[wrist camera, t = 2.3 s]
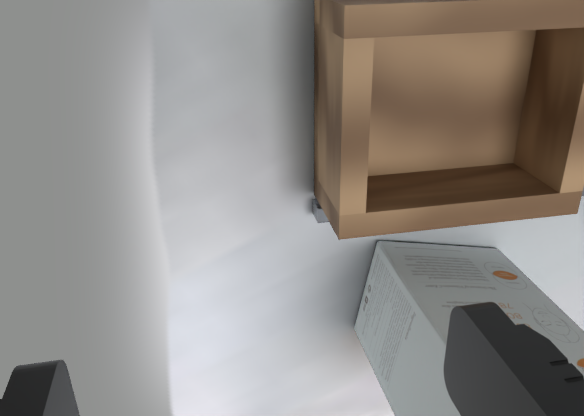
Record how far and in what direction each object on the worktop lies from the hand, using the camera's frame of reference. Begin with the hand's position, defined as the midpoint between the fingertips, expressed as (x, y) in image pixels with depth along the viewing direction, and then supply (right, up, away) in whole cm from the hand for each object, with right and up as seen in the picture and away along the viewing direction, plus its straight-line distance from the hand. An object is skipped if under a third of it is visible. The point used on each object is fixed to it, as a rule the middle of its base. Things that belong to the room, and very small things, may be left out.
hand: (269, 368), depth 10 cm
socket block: (+7, +9, +17) cm, 21 cm away
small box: (+8, -2, +23) cm, 25 cm away
